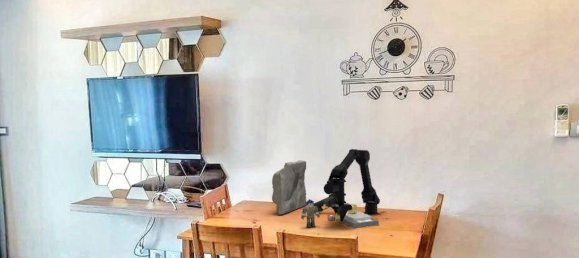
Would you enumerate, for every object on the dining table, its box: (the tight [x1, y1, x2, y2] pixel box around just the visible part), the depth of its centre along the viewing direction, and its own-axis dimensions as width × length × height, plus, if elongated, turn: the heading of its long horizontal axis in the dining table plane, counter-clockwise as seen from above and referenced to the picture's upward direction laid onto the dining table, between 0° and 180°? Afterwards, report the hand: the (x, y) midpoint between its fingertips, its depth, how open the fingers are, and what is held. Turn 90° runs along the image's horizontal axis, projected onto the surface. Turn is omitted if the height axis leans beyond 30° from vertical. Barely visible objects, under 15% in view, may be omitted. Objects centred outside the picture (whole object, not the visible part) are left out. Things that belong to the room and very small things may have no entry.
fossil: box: [271, 159, 307, 215], centre depth 287 cm, size 34×9×30 cm, turn 153°
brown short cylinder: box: [327, 213, 336, 222], centre depth 259 cm, size 4×4×3 cm
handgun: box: [313, 194, 332, 213], centre depth 276 cm, size 2×17×12 cm, turn 78°
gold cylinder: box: [334, 212, 344, 223], centre depth 247 cm, size 4×4×4 cm
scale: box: [341, 210, 380, 229], centre depth 252 cm, size 15×19×4 cm
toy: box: [300, 199, 321, 229], centre depth 244 cm, size 10×4×15 cm, turn 114°
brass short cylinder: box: [348, 203, 358, 214], centre depth 257 cm, size 4×4×4 cm
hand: (339, 220), depth 247 cm, fingers closed on gold cylinder, 4 cm apart
